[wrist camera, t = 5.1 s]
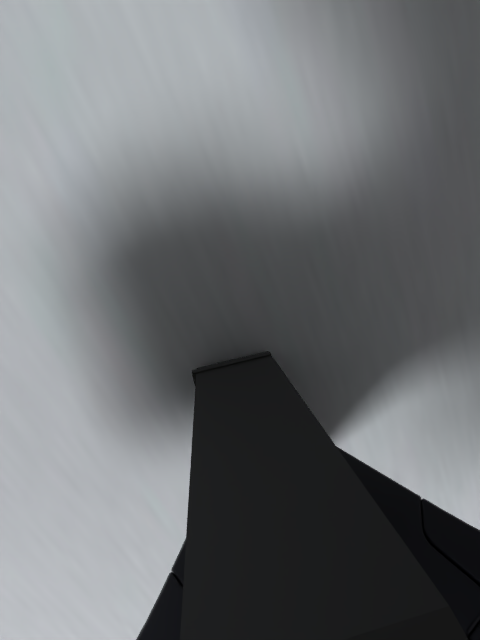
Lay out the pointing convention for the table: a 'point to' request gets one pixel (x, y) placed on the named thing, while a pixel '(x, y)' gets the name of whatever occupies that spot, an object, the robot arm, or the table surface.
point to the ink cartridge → (289, 526)
